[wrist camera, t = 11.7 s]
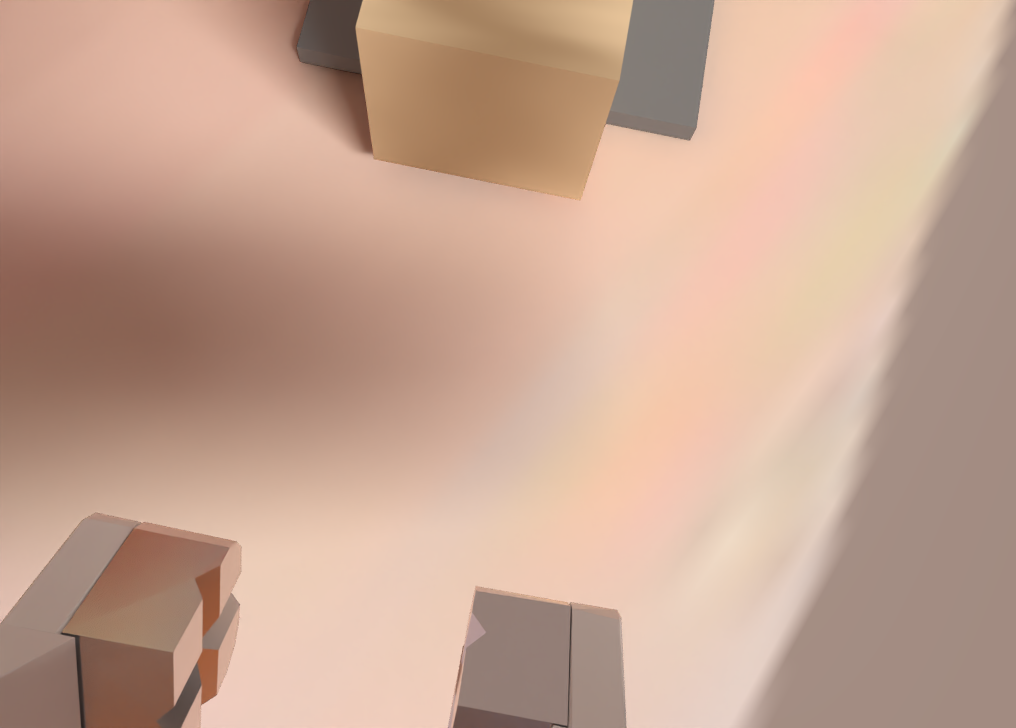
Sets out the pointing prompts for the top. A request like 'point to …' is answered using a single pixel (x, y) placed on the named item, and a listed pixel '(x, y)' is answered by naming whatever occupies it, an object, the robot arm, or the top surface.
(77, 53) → the top surface
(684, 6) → the mat
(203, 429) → the top surface
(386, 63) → the block
